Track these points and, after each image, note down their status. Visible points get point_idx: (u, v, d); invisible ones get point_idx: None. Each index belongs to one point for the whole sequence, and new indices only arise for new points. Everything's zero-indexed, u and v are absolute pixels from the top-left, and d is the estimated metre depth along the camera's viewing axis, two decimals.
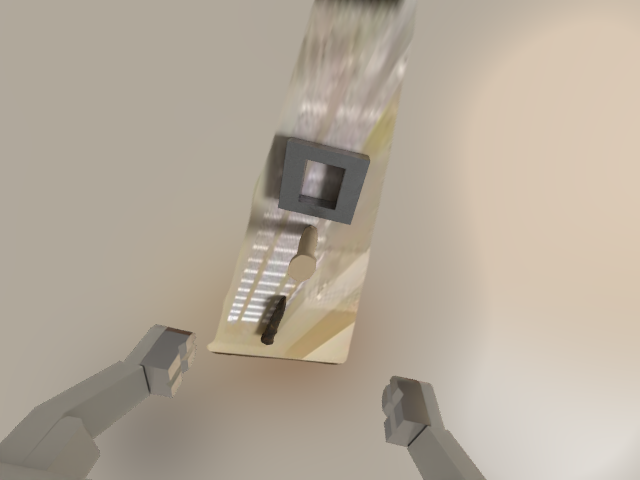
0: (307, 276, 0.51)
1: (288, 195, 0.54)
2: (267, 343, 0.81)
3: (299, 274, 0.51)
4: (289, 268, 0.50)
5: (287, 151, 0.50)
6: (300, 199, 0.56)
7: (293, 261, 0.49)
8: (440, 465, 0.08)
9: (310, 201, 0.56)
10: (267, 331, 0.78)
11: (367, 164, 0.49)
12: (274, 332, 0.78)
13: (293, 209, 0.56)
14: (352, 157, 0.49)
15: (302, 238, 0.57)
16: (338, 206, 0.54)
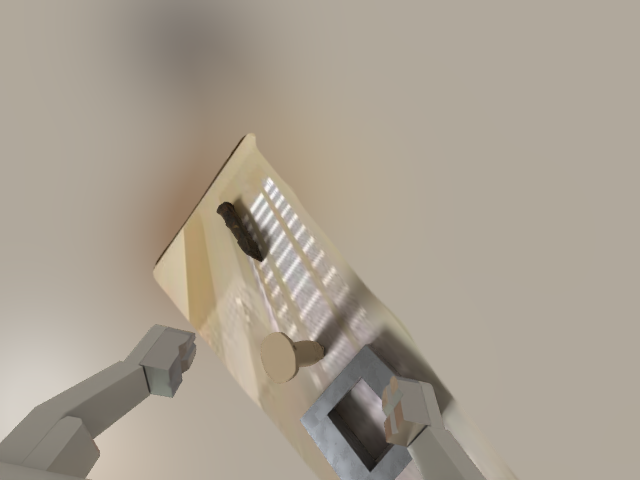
0: (263, 356, 0.36)
1: (373, 370, 0.40)
2: (219, 207, 0.65)
3: (272, 346, 0.36)
4: (286, 340, 0.35)
5: None
6: (361, 376, 0.42)
7: (292, 354, 0.35)
8: (440, 465, 0.08)
9: (352, 386, 0.42)
10: (233, 216, 0.63)
11: None
12: (227, 224, 0.62)
13: (354, 362, 0.42)
14: None
15: (314, 353, 0.42)
16: (329, 424, 0.40)
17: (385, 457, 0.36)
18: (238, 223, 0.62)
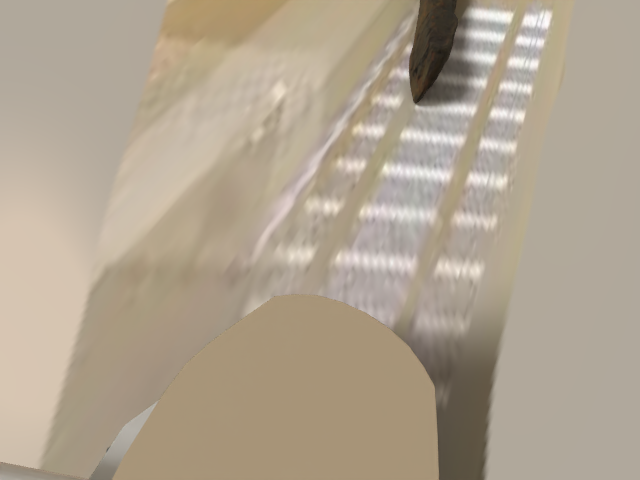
0: (212, 377, 0.04)
1: None
2: None
3: (315, 395, 0.04)
4: None
5: None
6: None
7: None
8: None
9: None
10: None
11: None
12: None
13: None
14: None
15: None
16: None
17: None
18: None
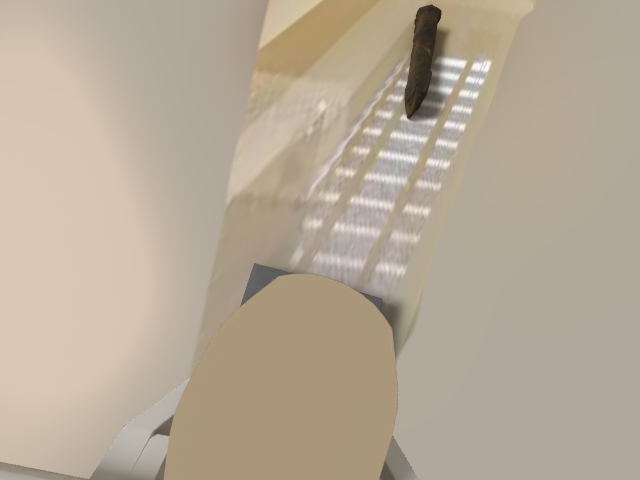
0: (240, 332, 0.06)
1: None
2: (430, 8, 0.42)
3: (311, 340, 0.07)
4: (388, 392, 0.06)
5: None
6: None
7: None
8: None
9: None
10: (433, 37, 0.41)
11: None
12: (421, 36, 0.41)
13: None
14: None
15: None
16: None
17: None
18: (432, 51, 0.41)
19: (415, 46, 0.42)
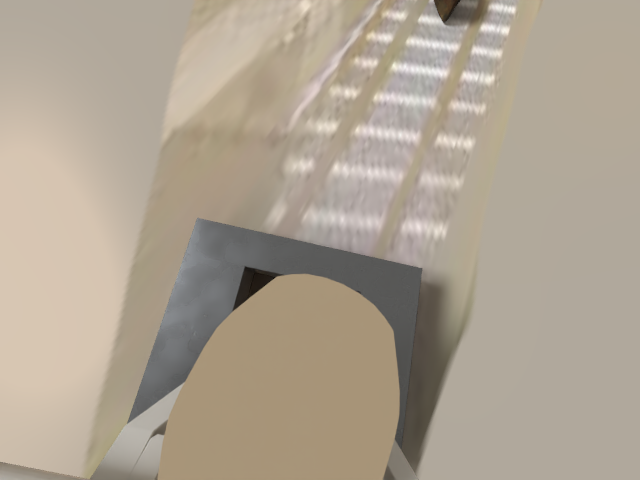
0: (237, 334, 0.06)
1: (390, 311, 0.18)
2: None
3: (310, 342, 0.06)
4: (390, 397, 0.06)
5: None
6: None
7: None
8: None
9: None
10: None
11: None
12: None
13: (375, 264, 0.18)
14: None
15: None
16: (231, 280, 0.17)
17: None
18: None
19: None
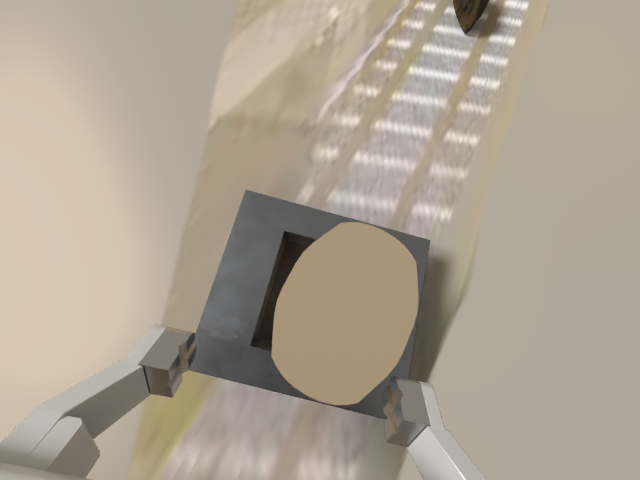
0: (315, 256, 0.10)
1: None
2: None
3: (362, 265, 0.10)
4: (412, 301, 0.10)
5: None
6: None
7: (393, 352, 0.09)
8: (440, 465, 0.08)
9: None
10: None
11: None
12: None
13: (391, 234, 0.22)
14: (231, 378, 0.18)
15: None
16: (273, 241, 0.21)
17: None
18: None
19: None
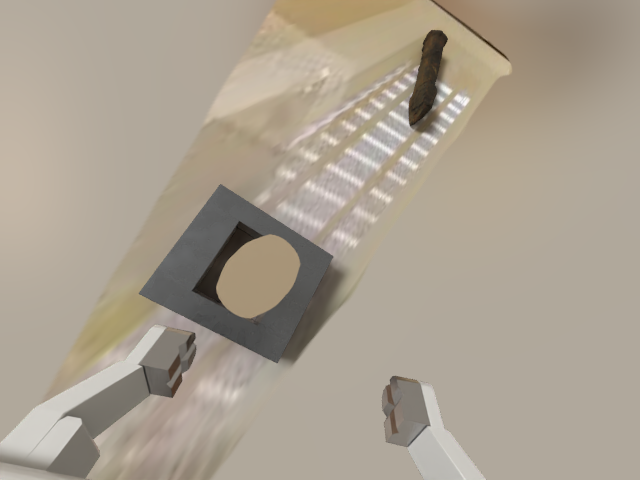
0: (252, 247, 0.19)
1: (309, 271, 0.32)
2: (440, 33, 0.47)
3: (273, 257, 0.20)
4: (291, 281, 0.20)
5: (283, 345, 0.30)
6: None
7: (274, 301, 0.19)
8: (440, 465, 0.08)
9: None
10: (439, 59, 0.47)
11: (146, 288, 0.26)
12: (430, 56, 0.46)
13: (310, 245, 0.32)
14: (172, 308, 0.26)
15: None
16: (229, 226, 0.29)
17: (216, 306, 0.28)
18: (437, 71, 0.46)
19: (424, 63, 0.47)
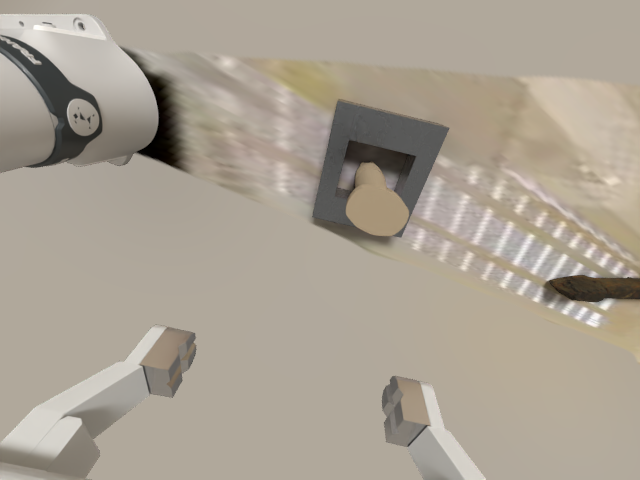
0: (396, 202, 0.26)
1: None
2: None
3: (391, 218, 0.27)
4: (376, 233, 0.28)
5: (325, 218, 0.40)
6: None
7: (360, 226, 0.27)
8: (440, 465, 0.08)
9: (399, 191, 0.38)
10: None
11: (343, 104, 0.31)
12: None
13: None
14: (332, 130, 0.33)
15: None
16: (410, 149, 0.33)
17: (341, 162, 0.35)
18: (626, 298, 0.43)
19: (637, 283, 0.42)
